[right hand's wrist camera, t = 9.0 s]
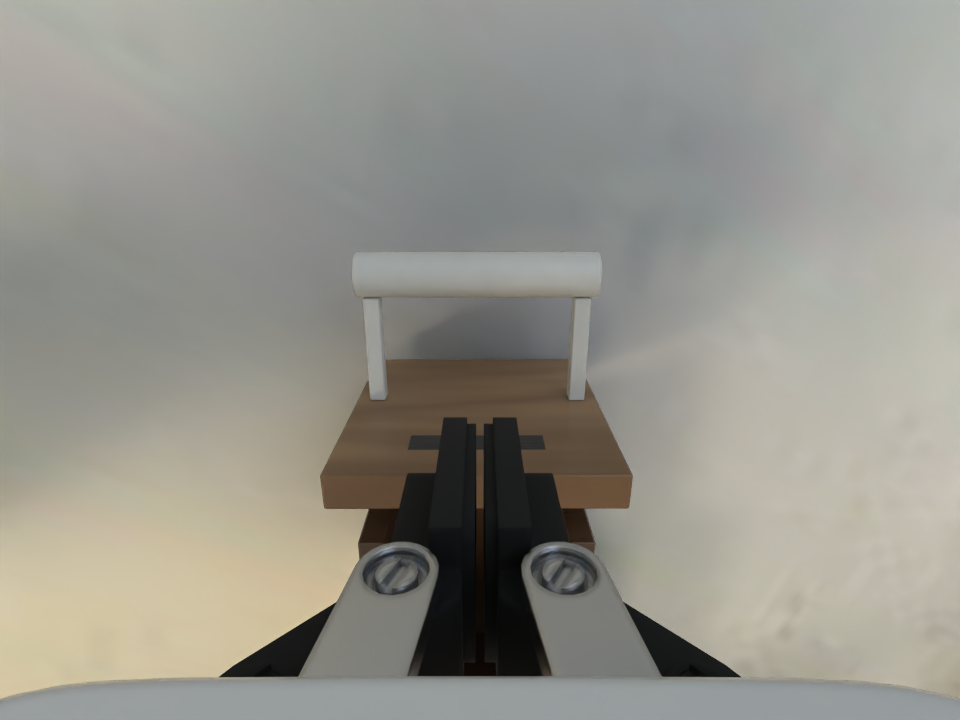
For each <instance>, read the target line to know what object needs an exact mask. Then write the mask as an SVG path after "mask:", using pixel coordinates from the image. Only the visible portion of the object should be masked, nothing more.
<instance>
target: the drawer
mask: <svg viewBox="0 0 960 720" xmlns="http://www.w3.org/2000/svg"><path fill="white" fill-rule="evenodd" d="M351 276H352V285H353V290H354V293H355V295H356V296H357V297H364V298H363V300H362V301H363V314H364V327H365V339H366V352H367V364H368V377H369V380H368V382H367V384H366V386H365V388H364V390H363V392H362V394H361V396H360V398H359V400H358V402H357V404H356V406H355V408H354V409H353V411H352V413H351V415H350V417H349V419H348V421H347V423H346V425H345V427H344V429H343V431H342V433H341V435H340V437H339V439H338V441H337V443H336V445H335V447H334V449H333V451H332V453H331V455H330V457H329V459H328V461H327V463H326V465H325V467H324V469H323V471H322V473H321V476H320V478H321V487H322V495H323V503H324V508H326V509H369V510H368V513H367V517H366V520H365V523H364V526H363V529H362V532H361V536H360V539H359V542H358V548H359V558H360V559H361V558H362V556H364V555H365V554H366V553H368V552H369V551H370V550H372V549H374V548H376V547H378V546H381V545H383V544H388V543H391V541H392V537H393V532H394V528H395V524H396V519H397V515H398V511H399V506H400V502H401V498H402V493H403V489H404V485H405V480H406V477H407V474H408V473H436V467H437V460H438V453H439V446H440V439H441V432H442V425H443V418H444V417H467V424H476V511H477V534H476V643H475V662H464V676H496V662H485V643H484V535H483V511H484V424H493V417H516V418H517V425H518V432H519V439H520V446H521V453H522V460H523V467H524V473H552V474H553V477H554V480H555V485H556V489H557V493H558V498H559V502H560V506H561V511H562V515H563V519H564V524H565V528H566V532H567V537H568V541H569V543H572V544H577V545H579V546H582V547H584V548H586V549H588V550H590V551H591V552H592V553H594V552H595V541H594V537H593V534H592V531H591V527H590V524H589V521H588V517H587V514H586V511H585V508H629V504H630V495H631V487H632V478H633V475H632V473H631V471H630V469H629V467H628V465H627V463H626V461H625V459H624V456H623V454H622V452H621V450H620V448H619V446H618V444H617V442H616V440H615V438H614V436H613V434H612V432H611V430H610V428H609V425H608V423H607V421H606V419H605V417H604V415H603V413H602V411H601V409H600V407H599V405H598V403H597V401H596V399H595V397H594V394H593V392H592V390H591V388H590V386H589V384H588V382H587V380H586V368H587V355H588V341H589V328H590V314H591V301H592V299H591V298H590V297H597V296H598V294H599V292H600V288H601V283H602V261H601V257H600V254H599V253H598V252H356V253H354V255H353V259H352V267H351ZM381 297H572V314H571V330H570V346H569V359H500V360H385V345H384V330H383V315H382V300H381Z"/></svg>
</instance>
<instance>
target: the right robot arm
mask: <svg viewBox="0 0 960 720" xmlns="http://www.w3.org/2000/svg"><path fill="white" fill-rule="evenodd" d="M476 534H477V511H476V424H467V417H444V418H443V425H442V432H441V439H440V446H439V453H438V460H437V467H436V473H408V474H407V477H406V480H405V485H404V489H403V493H402V498H401V502H400V506H399V511H398V515H397V519H396V524H395V528H394V532H393V537H392V541H391V543H388V544H383V545H381V546H378V547H376V548H374V549H372V550H370V551H369V552H368V553H366V554H365V555H364V556H362V558H361V559H360V560H359V562H358V563H357V564H356V566H355V568H354V570H353V572H352V574H351V575H350V577H349V579H348V581H347V583H346V585H345V587H344V589H343V591H342V593H341V595H340V597H339V599H338V601H337V602H336V603H334V604H333V605H331V606H330V607H328V608H326V609H325V610H323V611H321V612H320V613H318V614H317V615H315V616H313V617H312V618H310V619H308V620H307V621H305V622H304V623H302V624H300V625H299V626H297V627H296V628H294V629H292V630H291V631H289V632H287V633H286V634H284V635H283V636H281V637H279V638H278V639H276V640H274V641H273V642H271V643H270V644H268V645H266V646H265V647H263V648H262V649H260V650H258V651H257V652H255V653H253V654H252V655H250V656H249V657H247V658H245V659H244V660H242V661H241V662H239V663H237V664H236V665H234V666H233V667H231V668H230V669H229V670H227V671H226V672H225V673H224V674H222V675H221V676H220V677H201V678H159V679H135V680H111V681H95V682H87V683H78V684H69V685H61V686H55V687H50V688H45V689H40V690H35V691H30V692H26V693H21V694H16V695H12V696H9V697H5V698H2V699H0V720H960V699H958V698H955V697H951V696H948V695H944V694H939V693H934V692H930V691H925V690H920V689H915V688H910V687H905V686H899V685H891V684H882V683H873V682H865V681H848V680H823V679H799V678H745V677H740V676H739V675H738V674H736V673H735V672H734V671H733V670H731V669H730V668H729V667H727V666H726V665H724V664H723V663H721V662H719V661H718V660H716V659H715V658H713V657H711V656H710V655H708V654H707V653H705V652H703V651H702V650H700V649H698V648H697V647H695V646H694V645H692V644H690V643H689V642H687V641H686V640H684V639H682V638H681V637H679V636H677V635H676V634H674V633H673V632H671V631H669V630H668V629H666V628H664V627H663V626H661V625H660V624H658V623H656V622H655V621H653V620H652V619H650V618H648V617H647V616H645V615H643V614H642V613H640V612H639V611H637V610H635V609H634V608H632V607H630V606H629V605H627V604H626V603H624V602H623V601H622V599H621V597H620V595H619V593H618V591H617V589H616V587H615V585H614V583H613V581H612V579H611V577H610V575H609V574H608V572H607V570H606V568H605V566H604V564H603V563H602V562H601V560H600V559H599V558H598V556H596V555H595V554H594V553H592V552H591V551H590V550H588V549H586V548H584V547H582V546H579V545H577V544H572V543H569V541H568V537H567V532H566V528H565V524H564V519H563V515H562V511H561V506H560V502H559V498H558V493H557V489H556V485H555V480H554V477H553V474H552V473H524V467H523V460H522V453H521V446H520V439H519V432H518V425H517V418H516V417H493V424H484V511H483V535H484V643H485V662H496V676H464V662H475V643H476Z"/></svg>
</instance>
